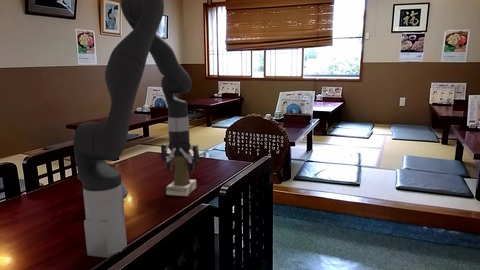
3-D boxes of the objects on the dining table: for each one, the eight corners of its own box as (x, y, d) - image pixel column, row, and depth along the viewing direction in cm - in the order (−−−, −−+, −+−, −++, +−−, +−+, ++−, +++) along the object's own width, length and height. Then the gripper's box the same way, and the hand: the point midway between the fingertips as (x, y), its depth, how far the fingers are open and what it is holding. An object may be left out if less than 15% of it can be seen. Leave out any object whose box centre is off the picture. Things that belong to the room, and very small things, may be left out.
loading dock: (186, 196, 132) (186, 188, 131) (166, 194, 134) (166, 187, 133) (196, 187, 141) (196, 179, 141) (177, 185, 143) (176, 178, 143)
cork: (187, 186, 134) (186, 157, 132) (171, 185, 134) (170, 156, 132) (191, 180, 140) (190, 153, 137) (176, 180, 140) (174, 152, 138)
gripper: (156, 130, 131) (158, 173, 134) (193, 131, 128) (195, 175, 131) (165, 126, 138) (167, 168, 141) (200, 127, 135) (202, 170, 138)
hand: (180, 171), depth 136 cm, fingers open, 8 cm apart
